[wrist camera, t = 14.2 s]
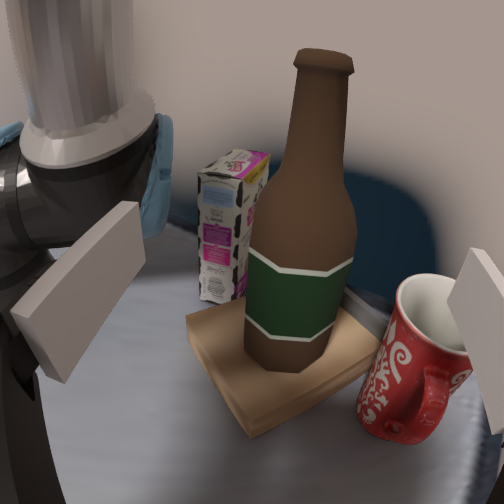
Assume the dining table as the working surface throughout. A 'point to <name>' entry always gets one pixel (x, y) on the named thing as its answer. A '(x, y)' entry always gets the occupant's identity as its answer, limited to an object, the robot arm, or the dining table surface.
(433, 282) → the mug
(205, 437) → the dining table surface
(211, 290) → the candy bar box
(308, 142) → the beer bottle
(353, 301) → the shelf step
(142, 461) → the dining table surface
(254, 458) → the dining table surface
